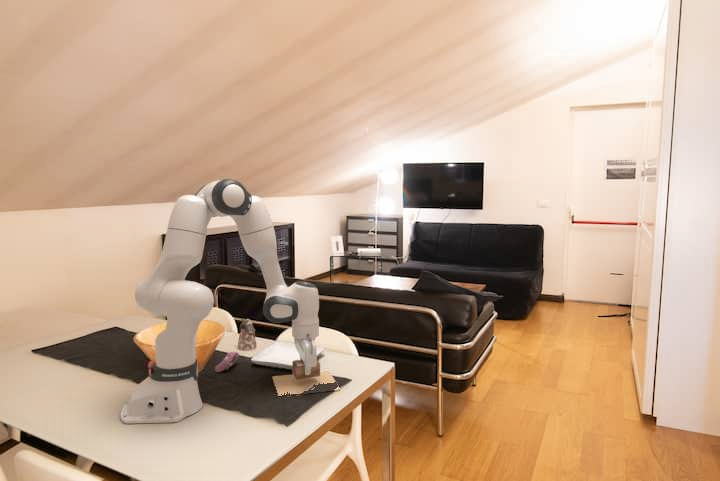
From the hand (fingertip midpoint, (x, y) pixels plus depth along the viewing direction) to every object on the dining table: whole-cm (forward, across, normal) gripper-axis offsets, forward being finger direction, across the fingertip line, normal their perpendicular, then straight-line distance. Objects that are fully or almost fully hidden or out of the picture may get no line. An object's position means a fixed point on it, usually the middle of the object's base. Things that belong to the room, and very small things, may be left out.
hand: (305, 370), depth 173 cm
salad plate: (+5, +23, +2) cm, 23 cm away
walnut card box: (+2, 0, 0) cm, 2 cm away
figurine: (+5, +41, +16) cm, 44 cm away
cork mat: (+5, 0, 0) cm, 5 cm away
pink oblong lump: (+5, +21, +24) cm, 32 cm away
